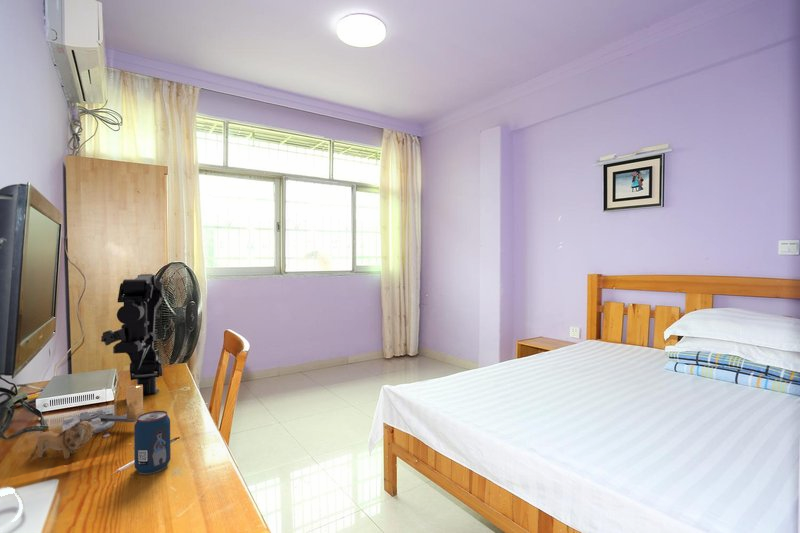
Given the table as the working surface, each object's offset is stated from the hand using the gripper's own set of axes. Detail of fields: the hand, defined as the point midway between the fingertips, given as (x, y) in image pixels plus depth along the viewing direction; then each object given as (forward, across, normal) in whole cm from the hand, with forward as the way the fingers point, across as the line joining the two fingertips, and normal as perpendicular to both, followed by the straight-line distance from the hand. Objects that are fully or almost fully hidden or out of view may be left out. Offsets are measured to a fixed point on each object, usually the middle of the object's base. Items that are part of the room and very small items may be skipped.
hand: (136, 369), depth 122 cm
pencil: (+14, +32, +12) cm, 37 cm away
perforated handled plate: (+12, +16, -3) cm, 20 cm away
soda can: (+13, +39, +15) cm, 44 cm away
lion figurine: (+13, +29, -7) cm, 32 cm away
